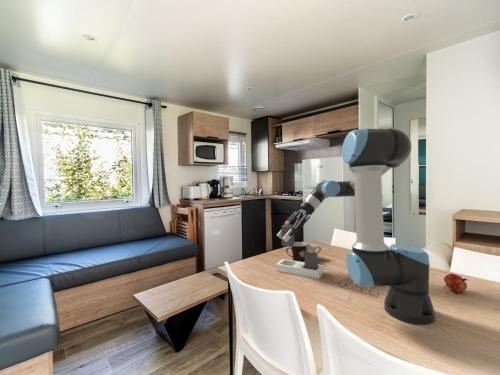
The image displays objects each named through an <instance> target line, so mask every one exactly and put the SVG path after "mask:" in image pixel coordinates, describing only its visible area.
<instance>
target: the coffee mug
mask: <svg viewBox="0 0 500 375" xmlns="http://www.w3.org/2000/svg"><path fill="white" fill-rule="evenodd" d="M294 243H295V244H294V245H293V246H291V247H290V246H288V247H287V248H286V251H285V252H286V254H287V255H288V256H290V257H291V258H292V260H293V261H299V262H305V255H304V254H305V253H306V245H307V244H308V243H305V242H301V241H296V242H295V241H294ZM289 249H290V250H291V253H292V255H291V254H290V253H288V250H289Z"/></svg>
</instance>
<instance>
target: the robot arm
mask: <svg viewBox="0 0 500 375" xmlns="http://www.w3.org/2000/svg"><path fill="white" fill-rule="evenodd" d="M411 152H412V142H411V139H410V138H409V136H408V135H407V134H406V133H405V132H404V131H402V130H400V129H397V128H360V129H358V128H357V129H353V130H350V132H348V134H347V135H346V136H345V139H344V140H343V144H342V149H341V157H342V160H343V162H344V163H345V164H347V165H349V167H348V169H349V171H351V172H352V173H353V178H352V179H350V180H349V181H347V180H346V181H345V180H343V181H336V180H325V179H322V180H320V182H318V183H317V184H316V186H315V187H314V188H313V190H312V191H311V192H310V193H309V194H308V196H307V197H306V198H305V199H304V201H303V202H301V204H300V205H299V208H300V209H299V210H298V211H297V210H294V211H293V213H292V214H291V215H290V217H288V219H286V221H289V222H290V225H294V226H293V227H291V229H290V230H289V231H288V232H287V234H286V235H285V236H284V237H283V238H282V231H281V230H279V232H278V233H277V234H276V236H277V237H278V238H279V239H280V240H282V239H283V240H284V241H285V242H287V241H288V240H289V239H290V238H291V237H292V235H293V234H294V235H295V233H299V232H300V231H301V230H302V228H303V227H304V225H305V224H306V223H307V222H308V221H309V220H310V218H311V216H312V215H314V212H315V211H316V210H317V208H319V206H320V205H321V204H322V203H323V202H324V201H325V199H328V198H339V197H340V198H342V197H354V205H355V206H354V207H355V232H356V238H355V239H356V241H355V242H354V243H353V244H352V246H351V248H352V250H351V251H349V252H348V253H346V257H345V263H346V268H347V269H346V270H347V273H348V274H349V277H350V279H351V280H352V281H353V283H354V284H356V285H357V286H359V287H361V288H374V287H375V288H376V287H389V288H388V291H387V293H386V295H385V298H384V301H383V302H384V304H383V308H384V310H385V311H386V313H388V314H389V315H390V316H392V317H393V318H395V319H398V320H399V321H403V322H406V323H409V324H413V325H414V324H416V325H428V324H432V323H434V322H435V321H436V310H435V308H434V304H433V303H432V300H431V297H430V291H429V290H430V266H431V264H430V256H429V254H428V253H427V251H425V250H424V249H422V248H417V247H414V246H410V245H405V244H398V243H397V244H395V243H393V244H390V246H389V245H387V243H385V238H384V236H385V233H384V232H385V230H384V210H383V209H384V208H383V186H382V185H383V184H382V176H384V175H385V174H386V173H387V172H388V171H390V170H391V169H396V168H398V167H400V165H402V164H403V163H405V162H406V160H407V159H408V158H409V156H410V155H411ZM286 221H285V222H284V223H283V225H285V224H286Z"/></svg>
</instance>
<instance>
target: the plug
mask: <svg viewBox="0 0 500 375" xmlns="http://www.w3.org/2000/svg"><path fill="white" fill-rule="evenodd" d="M285 222H286V224H285V225H284V224H283V225H281V229H280V231H282V238H283V237H284V236H285V235H286V234H287V232H288V231H289V230H290V229H291V227H293V226H294V224H293V225H290V222H289V221H287V220H286V221H285ZM282 238H281V246H284V247H290V248H292V247H291V246H293V245H294V244H295V243H294V242H295V233H294V234H293V235H292V237H291V238H290V239H289V240H288V241H287V242H285V241H284V240H283V239H282Z"/></svg>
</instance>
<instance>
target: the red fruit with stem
mask: <svg viewBox="0 0 500 375" xmlns="http://www.w3.org/2000/svg"><path fill="white" fill-rule="evenodd" d="M443 281H444V282H445V286H444V288H448V289H449V291H450V292H452V293H455V292H457V293H458V294H459V293H462V292H464V291H466V289H467V288H468V284H467V282H466V281H468V279H467V278H463V277H462V276H460V275H458V274H454V273H449V274H446V275H445V276H444V277H443ZM457 293H456V294H457Z"/></svg>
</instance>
